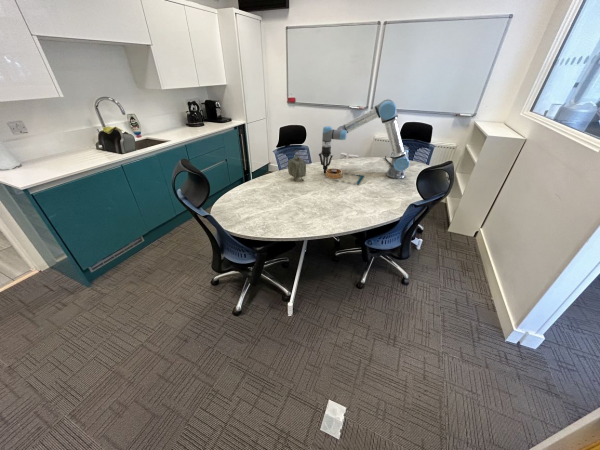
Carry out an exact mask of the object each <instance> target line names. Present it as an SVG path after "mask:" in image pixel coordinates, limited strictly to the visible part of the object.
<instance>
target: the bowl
mask: <svg viewBox="0 0 600 450" xmlns="http://www.w3.org/2000/svg"><path fill="white" fill-rule="evenodd" d="M331 170H337V173H336V174H331ZM325 176H326V177H327V178H329V179H340V178H342V176H343V171H342V170H341V169H339V168H328V169H327V170H326V173H325Z"/></svg>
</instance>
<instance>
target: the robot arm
mask: <svg viewBox="0 0 600 450" xmlns="http://www.w3.org/2000/svg"><path fill="white" fill-rule="evenodd" d="M398 118H399V115H398V111H397V104H395V102H394V101H393V100H391V99H384V100H382V101H381V102H380V103H378V104H377V105H375V106H373V108H372V109H370V110H369V111H366V112H365V113H363V114H361V115H359V116H357V117H355V118H354V119H352V120H350V121H349V122H346V123H344V124H343V125H340V126H339V127H337V128H336V129H333V127H332V126H330V125H326V126H323V128H322V139H321V140H322V141H321V152H319V154H318V157H319V162H320V165H321V166H322V169H323V174H326V170H327V169H329V166H330V165H331V163H332V159H333V157H334V154H332V152H331V151H332V140H336V141H337V140H338V141H345V140H347V135H348V134H349V133H351V132H353V131H354V130H356V129H359V128H360V127H362V126H364V125H366V124H368V123H370V122H372V121H374V120H376V119H380V120H381V124H384V127H385V130H386V134H387V137H388V142H389V145H390V149H391V153H392V154H391V162H390V161H389V160H388V159H387V155H385V156H384V160H385V161H386V162H387V163H388V164H389V165H390V166H389V168H388V169H387V172H386V176H387V177H389V178H392V179H397V180H399V179H403V178H405V177H406V170H407V169H408V168H409V166H410V162H411V161H410V159H409V156H408V155H409V150H408V149H405V148H404V145H403V141H402V136H401V133H400V129H399V125H398V121H397V120H398Z"/></svg>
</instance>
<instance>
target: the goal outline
mask: <svg viewBox="0 0 600 450" xmlns="http://www.w3.org/2000/svg"><path fill="white" fill-rule="evenodd" d="M356 177H359V179H358V181H357V182H356V185H357V186H359V185H360V184H361V181H362V180H363V178H364V175H360V174H356Z"/></svg>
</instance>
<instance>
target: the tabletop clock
mask: <svg viewBox="0 0 600 450" xmlns="http://www.w3.org/2000/svg"><path fill="white" fill-rule="evenodd" d="M296 152H297V153H296ZM293 153H294V155H295V156H294V157H293V158H290V159H289V160H288V161H287V172H288V174H289V176H291V177H292V178H294V179H293V181H294V182H295V181H297V179H301V181H302V182H304V181H305V180H304V179H303V177H306V174H307V163H306V160H305V159H303V158H301V157H300V152H299V151H298V150H294V152H293Z"/></svg>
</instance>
